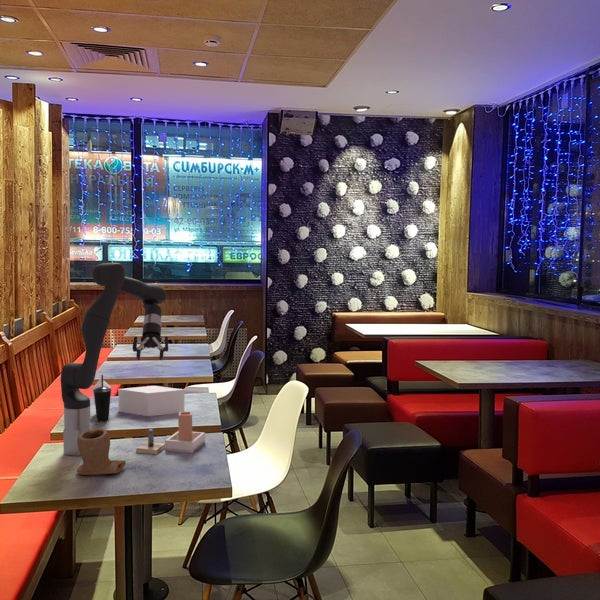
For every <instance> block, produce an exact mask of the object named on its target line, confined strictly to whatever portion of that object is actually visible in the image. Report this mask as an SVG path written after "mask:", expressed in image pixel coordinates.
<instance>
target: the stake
mask: <svg viewBox="0 0 600 600" xmlns="http://www.w3.org/2000/svg"><path fill="white" fill-rule="evenodd" d="M154 433H155V432H154V429H153V428H149V429H148V431H147V439H148V440H147V442H148V446H149V447H153V446H154V443H155V441H154V436H155V435H154Z"/></svg>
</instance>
